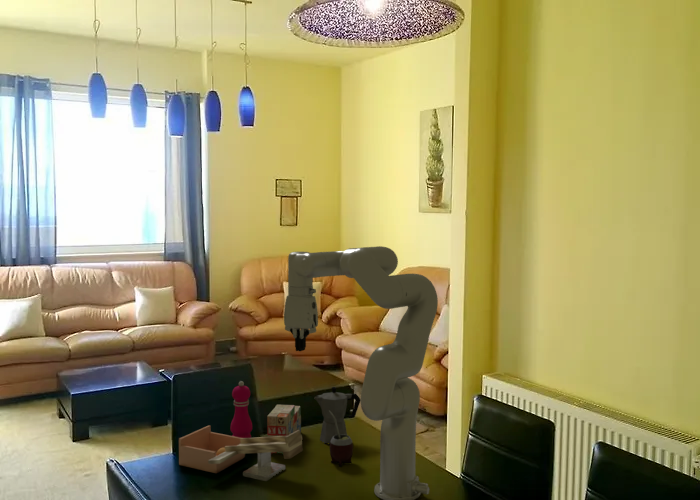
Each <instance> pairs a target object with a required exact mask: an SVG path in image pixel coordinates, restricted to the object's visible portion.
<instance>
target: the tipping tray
mask: <svg viewBox="0 0 700 500" xmlns="http://www.w3.org/2000/svg"><path fill="white" fill-rule="evenodd" d="M302 440H303V435H302V434H301V432H300V430H297V431H295V432H293V433H291V434H290V435H288V436H274V437H267V436H261V437H259V436H258V437H251V438H241V439H240V442H241V444H239V445H237V446H225V452H223V453H222V454H220V455H218V456H216V457H214V458H212V459H210V460H208V463H209V464H220V463H222V462H224V461H226V460H227V459H229V458H231V457H233V456H235V455H237V454H244V453H245V454H258V453H266V452H283V454H282V455H283V459H286V460H288V459H292V458H293V457H295V456H297V455H298V454H300V453H302V452H303V451H304V449H303V441H302Z"/></svg>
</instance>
